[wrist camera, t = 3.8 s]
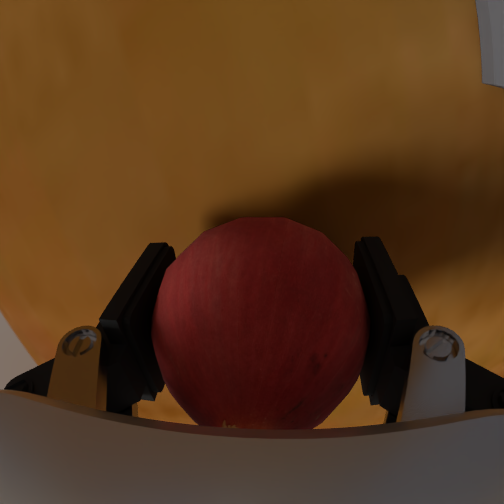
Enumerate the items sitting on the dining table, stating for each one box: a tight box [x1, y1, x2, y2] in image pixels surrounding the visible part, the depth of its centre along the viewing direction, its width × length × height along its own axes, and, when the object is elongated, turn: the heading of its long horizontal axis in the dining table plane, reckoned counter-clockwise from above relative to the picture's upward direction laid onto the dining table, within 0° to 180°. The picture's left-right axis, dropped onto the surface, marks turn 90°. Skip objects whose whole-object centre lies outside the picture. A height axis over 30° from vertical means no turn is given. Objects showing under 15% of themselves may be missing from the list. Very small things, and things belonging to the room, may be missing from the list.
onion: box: [151, 217, 371, 430], centre depth 8 cm, size 6×6×8 cm
